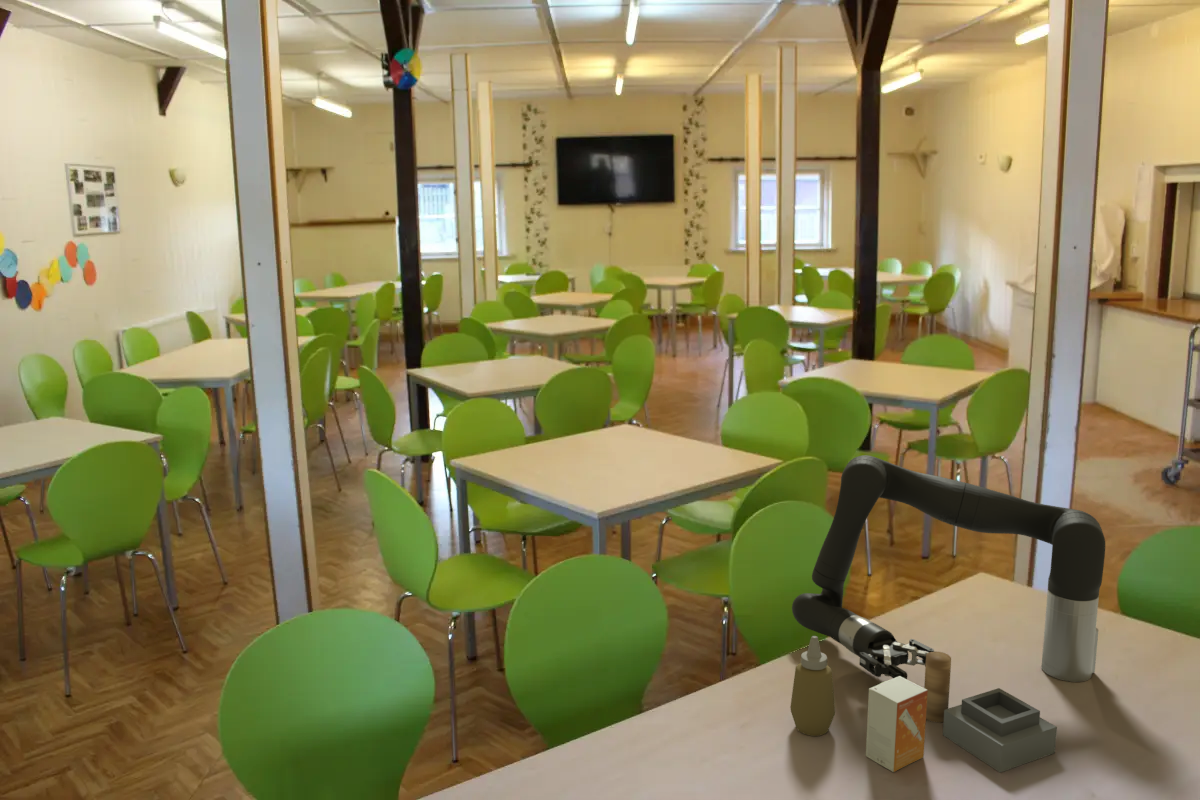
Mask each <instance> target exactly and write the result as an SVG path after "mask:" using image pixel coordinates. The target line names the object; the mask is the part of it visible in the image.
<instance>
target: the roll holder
mask: <svg viewBox="0 0 1200 800" xmlns="http://www.w3.org/2000/svg"><path fill="white" fill-rule="evenodd" d="M942 724H943V725H942V726H943V727H942V729H943V730H942V736H943V737H945V738H947V740H950V741H951V742H953V743H954V744H956V745H957V746H959V747H960V748H961V749H963V750H965V751H966V752H968V753H969V754H971V755H973V756H974V757H976V758H977V759H978V760H980V761H982V762H984V763H985V764H986V765H988V766H989V767H991V768H992V769H994V770H996V771H997V772H998V773H1003V772H1005V771H1008V770H1012V769H1014V768H1017V767H1020V766H1023V765H1025V764H1027V763H1030V762H1033V761H1036V760H1039V759H1042V758H1044V757H1048V756H1050V755H1053V754H1055V753H1056V743H1057V732H1058V727H1057V726H1056V725H1054V723H1051V722H1049V721H1047V720H1046V719H1044V718H1042V717H1041V710H1039V709H1037V708H1036V707H1034V706H1032V705H1031V704H1029V703H1027V702H1025V701H1023V700H1022V699H1020V698H1018V697H1016V696H1014V695H1012V694H1010V693H1009V692H1007V691H1005V690H1003V689H1002V688H999V687H998V688H996V689H995V688H994V689H991V690H988V691H985V692H983V693H982V692H981V693H979V694H975V695H972V696H969V697H966V698H962V699H961V704H958V705H955V706H953V707H948V709H945V710H944V722H943V723H942Z"/></svg>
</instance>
